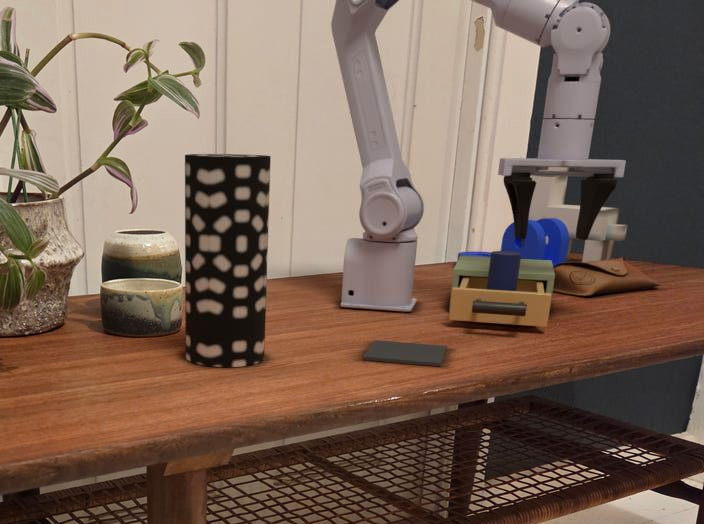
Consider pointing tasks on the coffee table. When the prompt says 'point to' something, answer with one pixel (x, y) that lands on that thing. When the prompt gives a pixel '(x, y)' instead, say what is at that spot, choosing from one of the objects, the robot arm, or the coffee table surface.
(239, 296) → the white-spotted black cylinder
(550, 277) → the cabinet
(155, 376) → the coffee table surface
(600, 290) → the sunglasses case
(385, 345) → the mat
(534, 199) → the toy llama
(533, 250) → the bracket
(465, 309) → the drawer
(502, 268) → the dark blue cylinder
